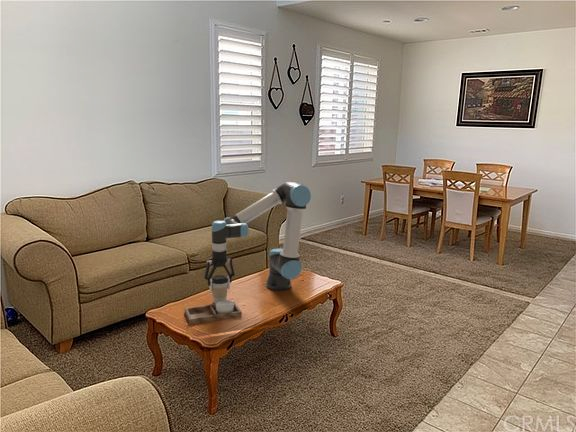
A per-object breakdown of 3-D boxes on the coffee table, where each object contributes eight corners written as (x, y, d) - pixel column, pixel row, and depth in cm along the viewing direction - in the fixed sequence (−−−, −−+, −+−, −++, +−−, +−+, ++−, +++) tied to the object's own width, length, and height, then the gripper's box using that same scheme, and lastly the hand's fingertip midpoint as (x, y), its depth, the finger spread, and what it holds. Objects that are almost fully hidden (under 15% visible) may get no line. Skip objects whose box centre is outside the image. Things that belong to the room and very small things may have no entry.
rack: (234, 307, 235) (234, 301, 235) (241, 318, 223) (241, 311, 222) (184, 314, 225) (184, 307, 225) (189, 326, 213) (189, 319, 212)
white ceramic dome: (231, 308, 232) (231, 299, 231) (235, 315, 224) (235, 306, 223) (214, 310, 229) (214, 301, 227) (218, 317, 220) (218, 308, 219)
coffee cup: (209, 300, 243) (209, 274, 239) (225, 298, 246) (225, 272, 243) (213, 307, 234) (213, 280, 231) (230, 304, 238) (230, 278, 235)
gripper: (237, 246, 241) (237, 284, 246) (197, 249, 233) (198, 289, 238) (240, 249, 235) (241, 289, 239) (200, 253, 226) (201, 294, 231)
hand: (219, 289), depth 239 cm, fingers closed on coffee cup, 9 cm apart
